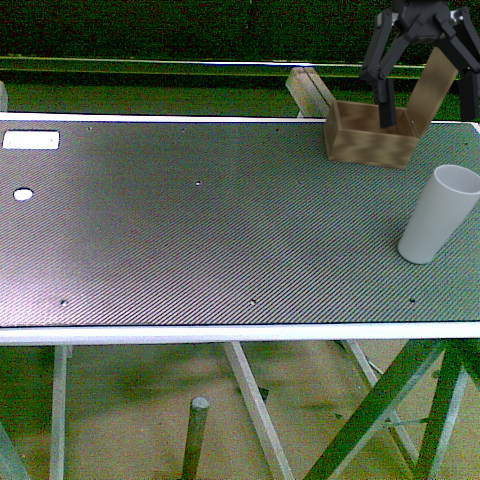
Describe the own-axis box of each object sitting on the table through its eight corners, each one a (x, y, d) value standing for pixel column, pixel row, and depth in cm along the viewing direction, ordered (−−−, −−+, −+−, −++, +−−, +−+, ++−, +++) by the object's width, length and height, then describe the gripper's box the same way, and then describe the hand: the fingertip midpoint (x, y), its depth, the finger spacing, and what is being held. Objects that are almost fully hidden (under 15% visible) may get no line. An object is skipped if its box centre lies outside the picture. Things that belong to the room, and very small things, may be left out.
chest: (328, 160, 93) (338, 130, 88) (323, 128, 101) (332, 99, 96) (404, 169, 91) (420, 139, 87) (393, 137, 100) (406, 107, 95)
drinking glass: (416, 234, 79) (461, 160, 68) (445, 264, 74) (498, 189, 63) (382, 243, 77) (422, 168, 66) (410, 273, 72) (458, 198, 62)
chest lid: (462, 55, 76) (525, 63, 75) (443, 27, 84) (500, 34, 83) (419, 137, 86) (473, 145, 86) (405, 105, 94) (455, 112, 94)
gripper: (472, -12, 75) (482, 123, 76) (326, -8, 71) (338, 134, 72) (515, -38, 68) (525, 112, 68) (354, -36, 64) (368, 123, 64)
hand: (430, 123), depth 70 cm, fingers open, 13 cm apart
